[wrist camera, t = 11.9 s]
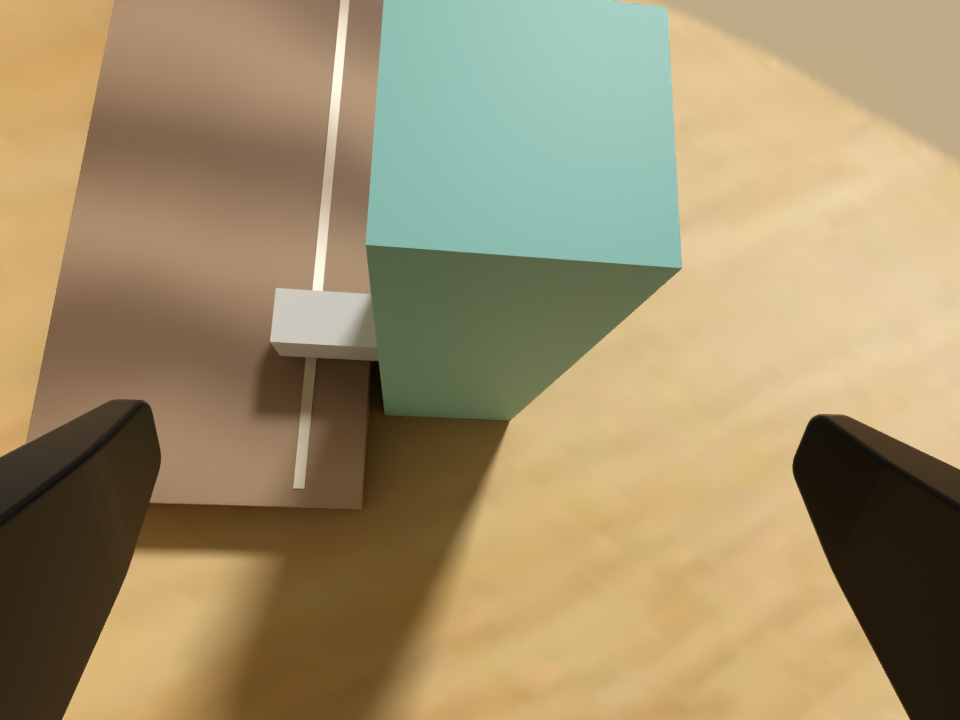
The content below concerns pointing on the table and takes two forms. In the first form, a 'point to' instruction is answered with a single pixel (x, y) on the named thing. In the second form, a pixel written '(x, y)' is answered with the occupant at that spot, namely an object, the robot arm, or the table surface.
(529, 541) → the table surface
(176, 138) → the board
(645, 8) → the teal rectangular block
